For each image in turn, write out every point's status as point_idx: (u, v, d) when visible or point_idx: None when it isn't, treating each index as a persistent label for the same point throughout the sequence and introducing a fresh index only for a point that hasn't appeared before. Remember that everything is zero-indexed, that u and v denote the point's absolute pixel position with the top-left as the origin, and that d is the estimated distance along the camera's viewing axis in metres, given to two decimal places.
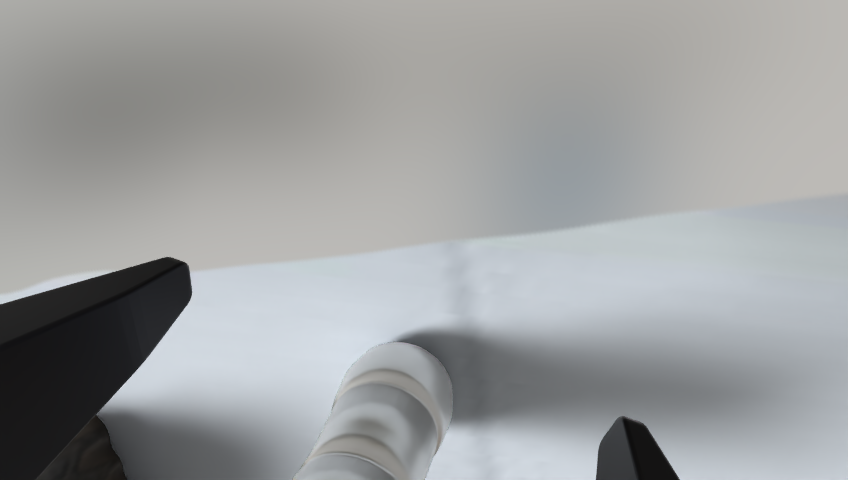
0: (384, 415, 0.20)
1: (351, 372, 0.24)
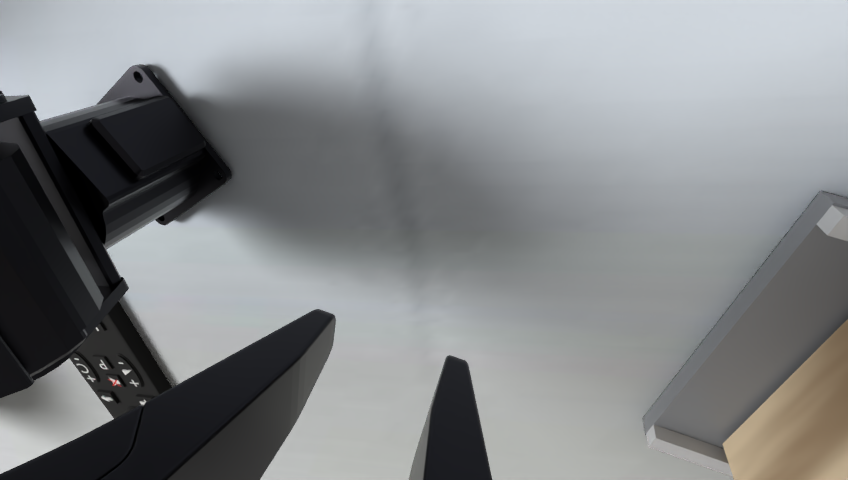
0: None
1: None
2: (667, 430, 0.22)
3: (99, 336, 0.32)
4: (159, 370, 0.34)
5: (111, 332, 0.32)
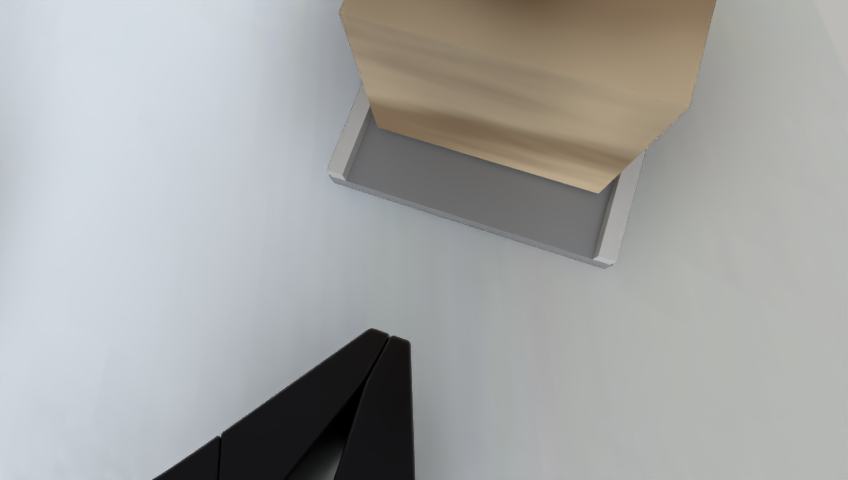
0: None
1: None
2: (596, 244, 0.20)
3: None
4: None
5: None
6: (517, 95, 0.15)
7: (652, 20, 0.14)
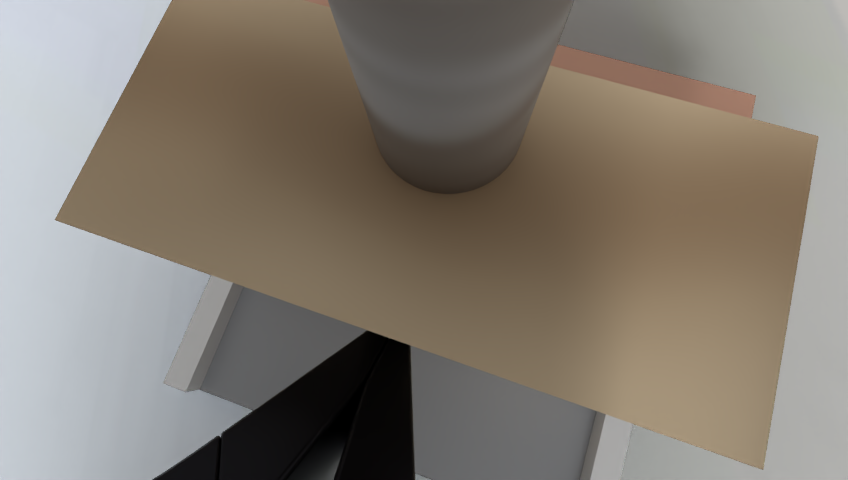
0: None
1: None
2: None
3: None
4: None
5: None
6: None
7: (675, 254, 0.07)
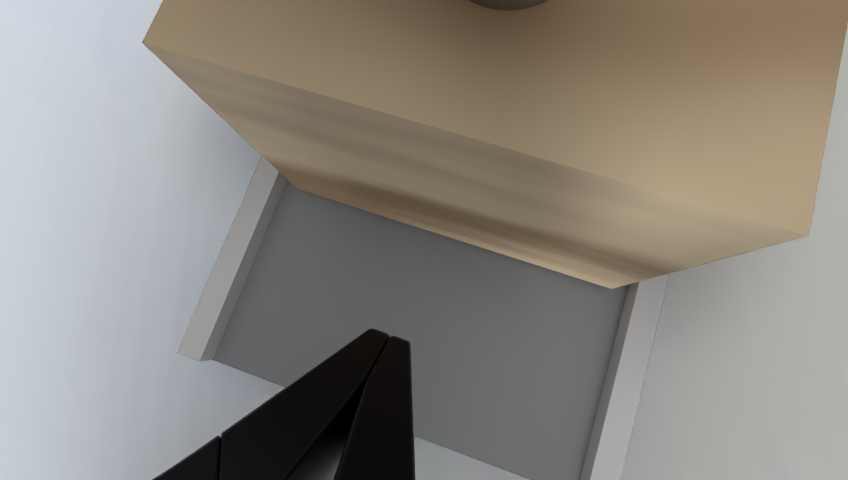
0: None
1: None
2: (582, 473, 0.13)
3: None
4: None
5: None
6: (477, 181, 0.09)
7: (726, 56, 0.07)
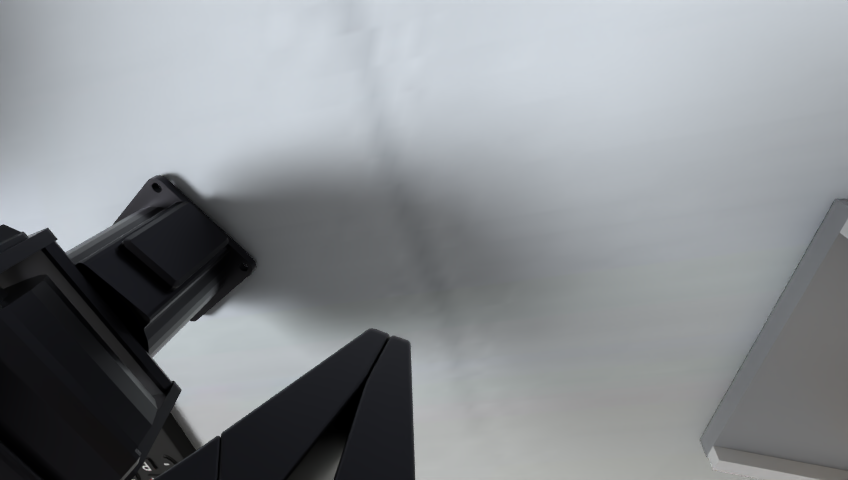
0: None
1: None
2: (728, 449, 0.22)
3: None
4: None
5: None
6: None
7: None
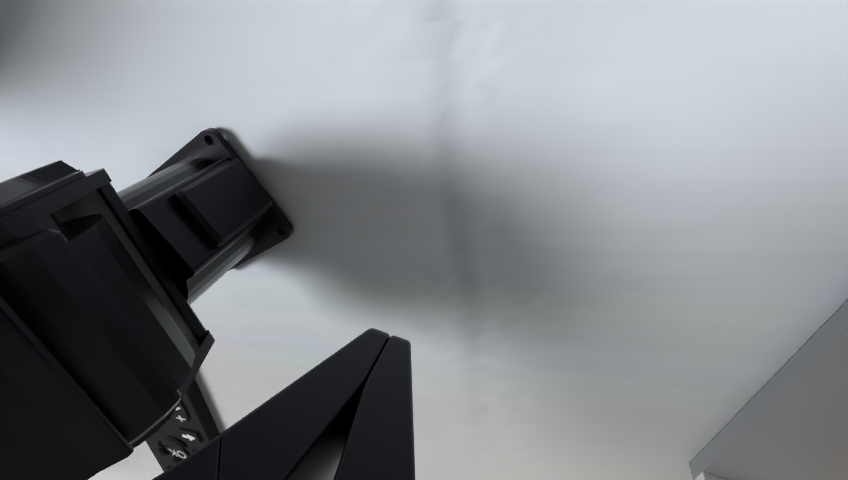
0: None
1: None
2: (716, 477, 0.23)
3: None
4: (206, 407, 0.35)
5: None
6: None
7: None
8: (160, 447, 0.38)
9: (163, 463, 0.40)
